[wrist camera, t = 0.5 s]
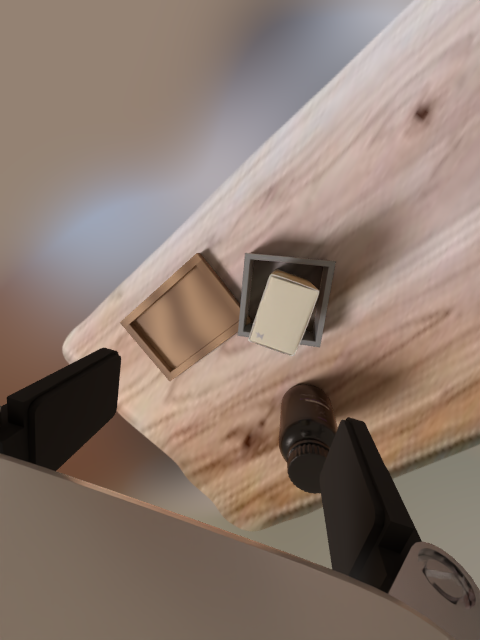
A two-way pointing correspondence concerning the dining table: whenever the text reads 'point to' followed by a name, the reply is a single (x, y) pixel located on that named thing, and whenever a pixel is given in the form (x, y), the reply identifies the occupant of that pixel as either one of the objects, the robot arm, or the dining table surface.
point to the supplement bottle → (306, 434)
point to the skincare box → (284, 312)
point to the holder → (324, 292)
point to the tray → (185, 318)
